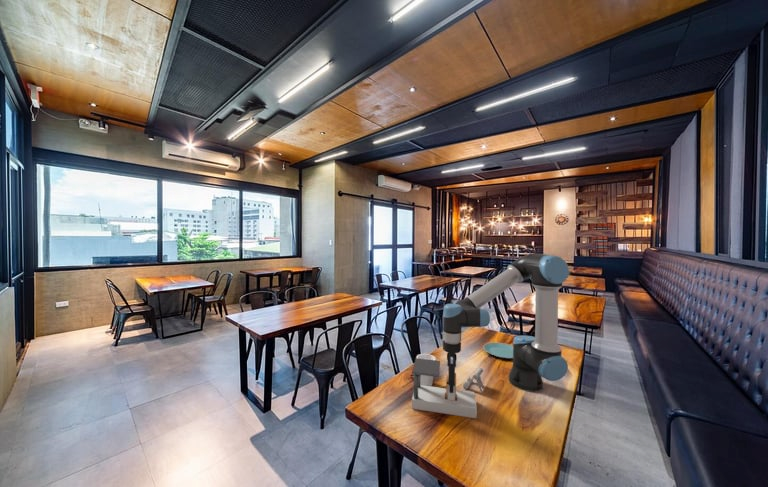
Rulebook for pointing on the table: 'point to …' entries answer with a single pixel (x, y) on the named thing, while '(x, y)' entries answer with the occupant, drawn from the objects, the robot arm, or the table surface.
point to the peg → (447, 386)
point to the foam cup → (424, 379)
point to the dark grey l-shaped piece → (424, 372)
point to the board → (445, 402)
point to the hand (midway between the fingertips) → (451, 390)
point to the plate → (499, 350)
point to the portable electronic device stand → (478, 379)
